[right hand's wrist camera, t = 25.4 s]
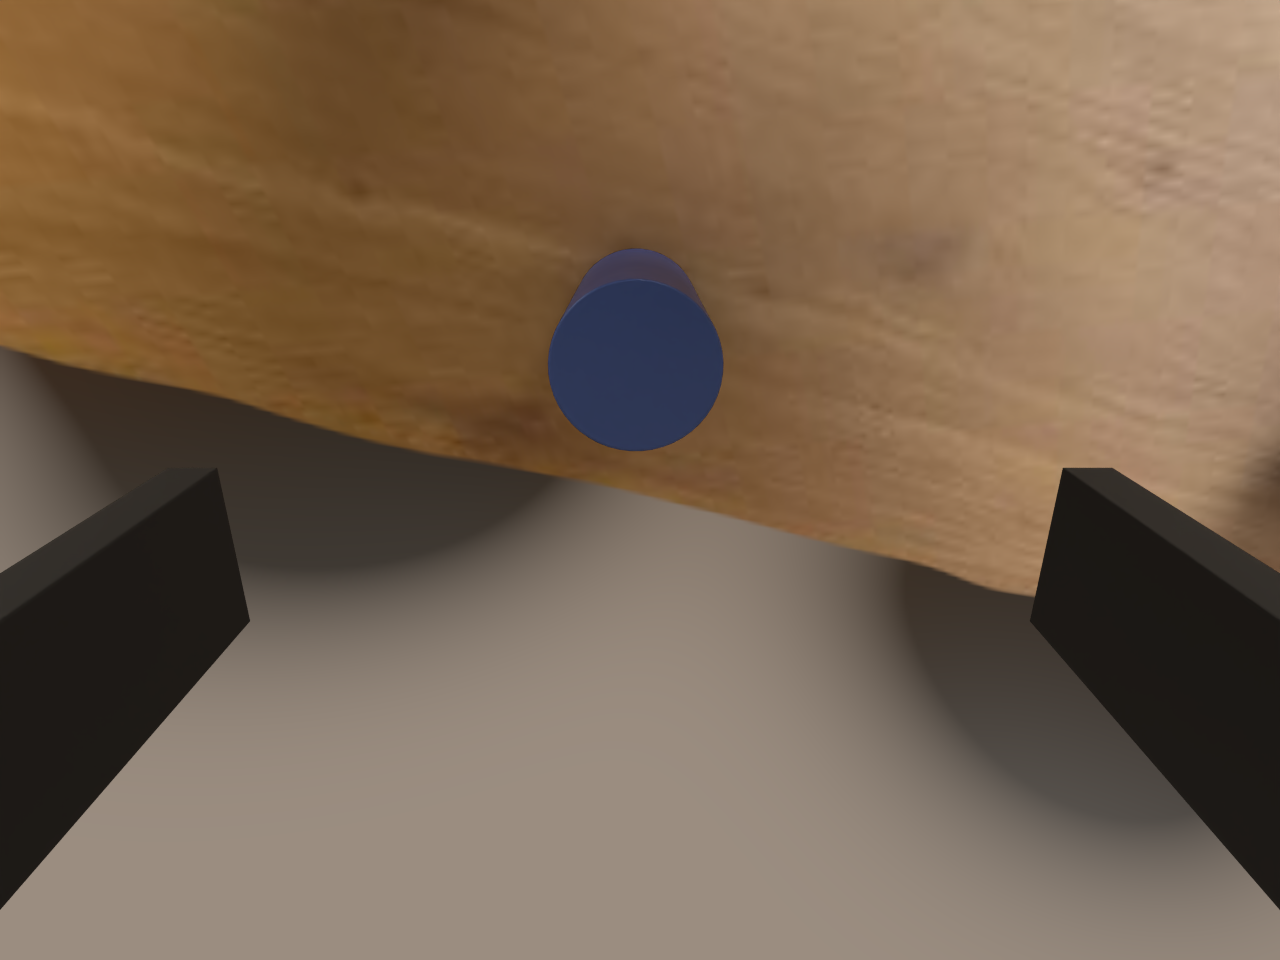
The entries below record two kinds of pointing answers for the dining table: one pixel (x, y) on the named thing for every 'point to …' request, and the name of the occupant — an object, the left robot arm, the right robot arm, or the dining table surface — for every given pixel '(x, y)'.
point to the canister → (635, 354)
